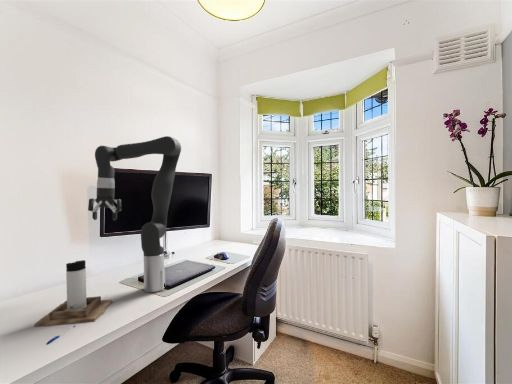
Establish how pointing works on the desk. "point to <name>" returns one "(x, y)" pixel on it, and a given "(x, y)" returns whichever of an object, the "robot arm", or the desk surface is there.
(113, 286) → the desk surface
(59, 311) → the mug holder
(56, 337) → the ballpoint pen
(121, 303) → the desk surface
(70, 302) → the travel mug
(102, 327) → the desk surface
